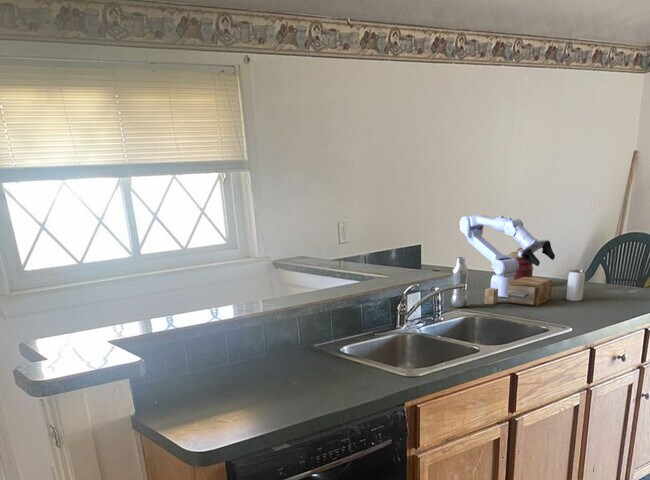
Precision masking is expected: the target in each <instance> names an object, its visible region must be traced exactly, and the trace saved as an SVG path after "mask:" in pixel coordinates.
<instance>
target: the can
mask: <svg viewBox="0 0 650 480" xmlns="http://www.w3.org/2000/svg"><path fill="white" fill-rule="evenodd" d="M585 279H586V273H585V270H582V269H571V270H570V271H569V273H568V277H567V286H566V295H565V300H566V301H568V302H582V300H583V296H584V288H585V281H586V280H585Z"/></svg>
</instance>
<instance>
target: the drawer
mask: <svg viewBox="0 0 650 480" xmlns="http://www.w3.org/2000/svg"><path fill="white" fill-rule="evenodd" d="M535 294H536V287H534V286H523V285H508V297H506V299H507V301H506V302H507V303H508V302H515V303H525V304H534V303H535Z"/></svg>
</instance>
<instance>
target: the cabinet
mask: <svg viewBox="0 0 650 480" xmlns="http://www.w3.org/2000/svg"><path fill="white" fill-rule="evenodd" d="M509 285H523V286H534V287H536V294H535V303H534V304H525V303H515V302H507V304H515V305H525V306H531V307H532V306H533V307H537V306H539V305H541V304H544V303H546V302H549V301H551V298H552V287H553V279H552V278H543V277H533V276H532V277H522V278H519V279H517V280H514V281H511V282H509Z"/></svg>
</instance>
